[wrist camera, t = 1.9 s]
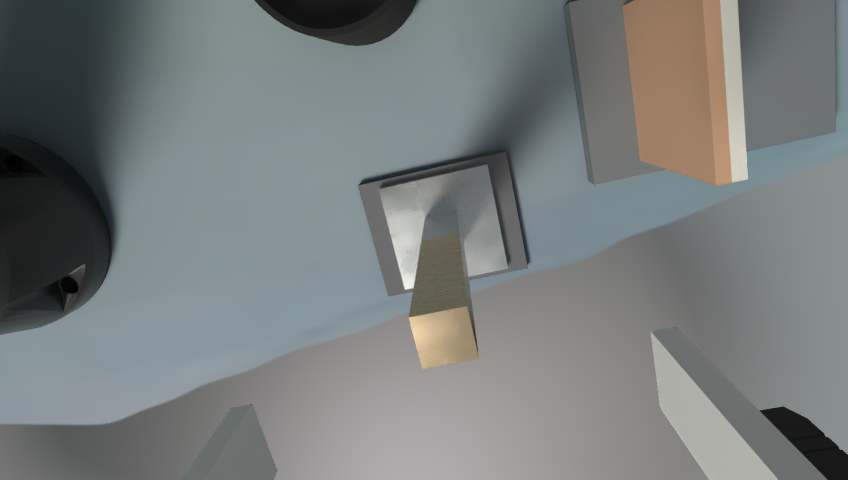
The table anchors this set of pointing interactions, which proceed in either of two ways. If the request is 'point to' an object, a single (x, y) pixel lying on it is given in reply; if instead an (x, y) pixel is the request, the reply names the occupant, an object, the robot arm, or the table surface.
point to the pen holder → (341, 18)
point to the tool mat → (494, 161)
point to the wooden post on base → (444, 255)
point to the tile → (688, 86)
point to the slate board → (761, 78)
